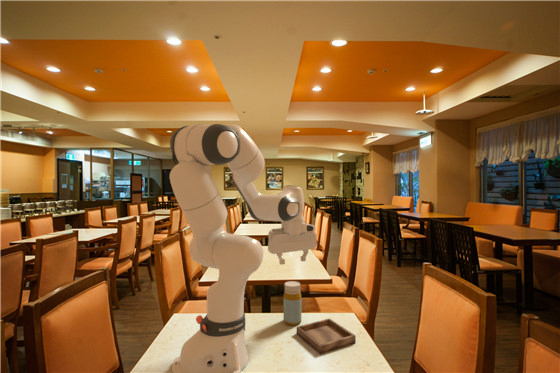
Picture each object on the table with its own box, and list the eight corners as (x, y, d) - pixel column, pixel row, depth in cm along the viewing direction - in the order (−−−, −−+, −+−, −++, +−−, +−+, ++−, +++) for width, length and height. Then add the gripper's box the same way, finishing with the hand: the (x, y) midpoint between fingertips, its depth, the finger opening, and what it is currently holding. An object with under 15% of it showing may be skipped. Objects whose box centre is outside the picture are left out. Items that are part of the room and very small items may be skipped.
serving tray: (320, 354, 95) (320, 346, 95) (296, 333, 108) (296, 326, 108) (355, 342, 102) (355, 335, 102) (329, 324, 115) (329, 318, 115)
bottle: (301, 318, 121) (301, 281, 120) (301, 326, 114) (301, 287, 113) (284, 317, 121) (284, 280, 121) (282, 325, 114) (282, 286, 114)
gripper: (272, 230, 109) (272, 268, 110) (318, 226, 119) (318, 261, 119) (265, 228, 115) (265, 263, 115) (310, 224, 124) (310, 257, 124)
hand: (292, 262), depth 117 cm, fingers open, 8 cm apart
